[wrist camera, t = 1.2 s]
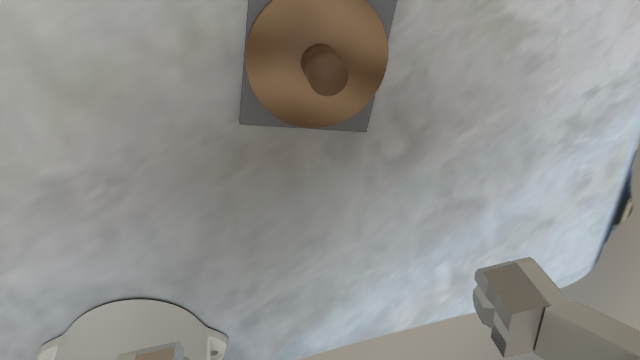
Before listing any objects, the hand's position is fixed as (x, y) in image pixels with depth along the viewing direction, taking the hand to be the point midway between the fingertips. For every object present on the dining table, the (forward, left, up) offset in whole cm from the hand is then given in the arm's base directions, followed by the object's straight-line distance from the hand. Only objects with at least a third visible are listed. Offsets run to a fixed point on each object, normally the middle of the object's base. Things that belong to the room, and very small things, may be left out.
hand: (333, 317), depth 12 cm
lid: (0, -5, -25) cm, 26 cm away
